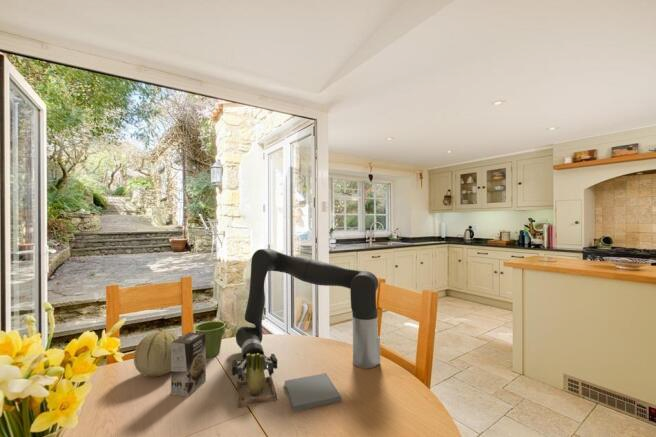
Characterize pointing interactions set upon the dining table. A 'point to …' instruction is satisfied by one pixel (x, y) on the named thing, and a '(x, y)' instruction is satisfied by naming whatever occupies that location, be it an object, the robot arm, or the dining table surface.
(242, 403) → the walnut collar
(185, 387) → the coffee box
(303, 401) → the slate board
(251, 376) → the fennel bulb
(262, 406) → the dining table surface
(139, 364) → the cantaloupe
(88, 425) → the dining table surface
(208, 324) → the plant pot
